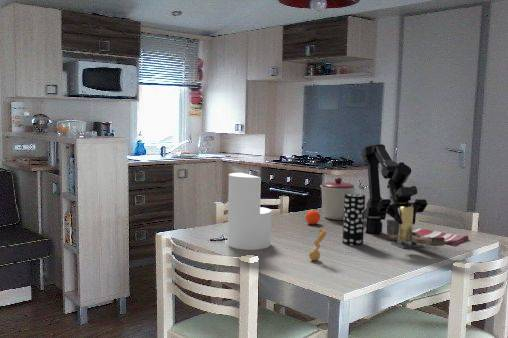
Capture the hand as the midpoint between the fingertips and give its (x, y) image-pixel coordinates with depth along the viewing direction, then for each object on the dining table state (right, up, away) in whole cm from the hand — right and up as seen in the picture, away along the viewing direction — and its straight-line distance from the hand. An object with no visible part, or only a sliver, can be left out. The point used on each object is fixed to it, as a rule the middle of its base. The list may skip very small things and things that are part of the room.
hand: (407, 223), depth 197 cm
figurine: (-36, -12, -12) cm, 40 cm away
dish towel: (+20, -10, +29) cm, 37 cm away
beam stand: (+4, -10, +14) cm, 18 cm away
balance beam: (+6, -8, +10) cm, 14 cm away
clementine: (-31, -6, +51) cm, 60 cm away
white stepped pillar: (-61, -9, +10) cm, 62 cm away
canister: (-16, -4, +67) cm, 69 cm away
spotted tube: (-18, -10, +16) cm, 26 cm away
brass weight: (0, -6, +2) cm, 7 cm away
